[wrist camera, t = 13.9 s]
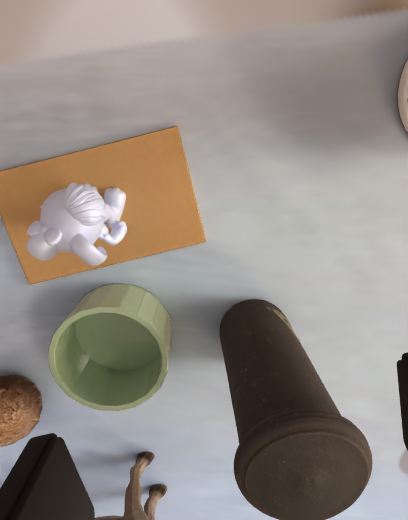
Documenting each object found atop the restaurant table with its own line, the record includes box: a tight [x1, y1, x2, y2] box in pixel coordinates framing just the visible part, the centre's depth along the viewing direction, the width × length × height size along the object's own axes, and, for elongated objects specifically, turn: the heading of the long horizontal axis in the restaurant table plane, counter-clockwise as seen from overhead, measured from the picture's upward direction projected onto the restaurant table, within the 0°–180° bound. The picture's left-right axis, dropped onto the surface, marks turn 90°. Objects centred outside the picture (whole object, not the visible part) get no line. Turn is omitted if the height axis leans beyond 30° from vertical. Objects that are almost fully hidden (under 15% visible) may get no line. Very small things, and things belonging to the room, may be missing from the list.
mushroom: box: [0, 375, 42, 447], centre depth 39 cm, size 8×8×6 cm
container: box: [220, 299, 372, 520], centre depth 30 cm, size 9×9×20 cm
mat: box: [0, 126, 206, 284], centre depth 35 cm, size 20×12×1 cm, turn 104°
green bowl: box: [48, 283, 172, 411], centre depth 36 cm, size 12×12×6 cm
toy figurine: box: [27, 183, 127, 266], centre depth 29 cm, size 7×6×12 cm
